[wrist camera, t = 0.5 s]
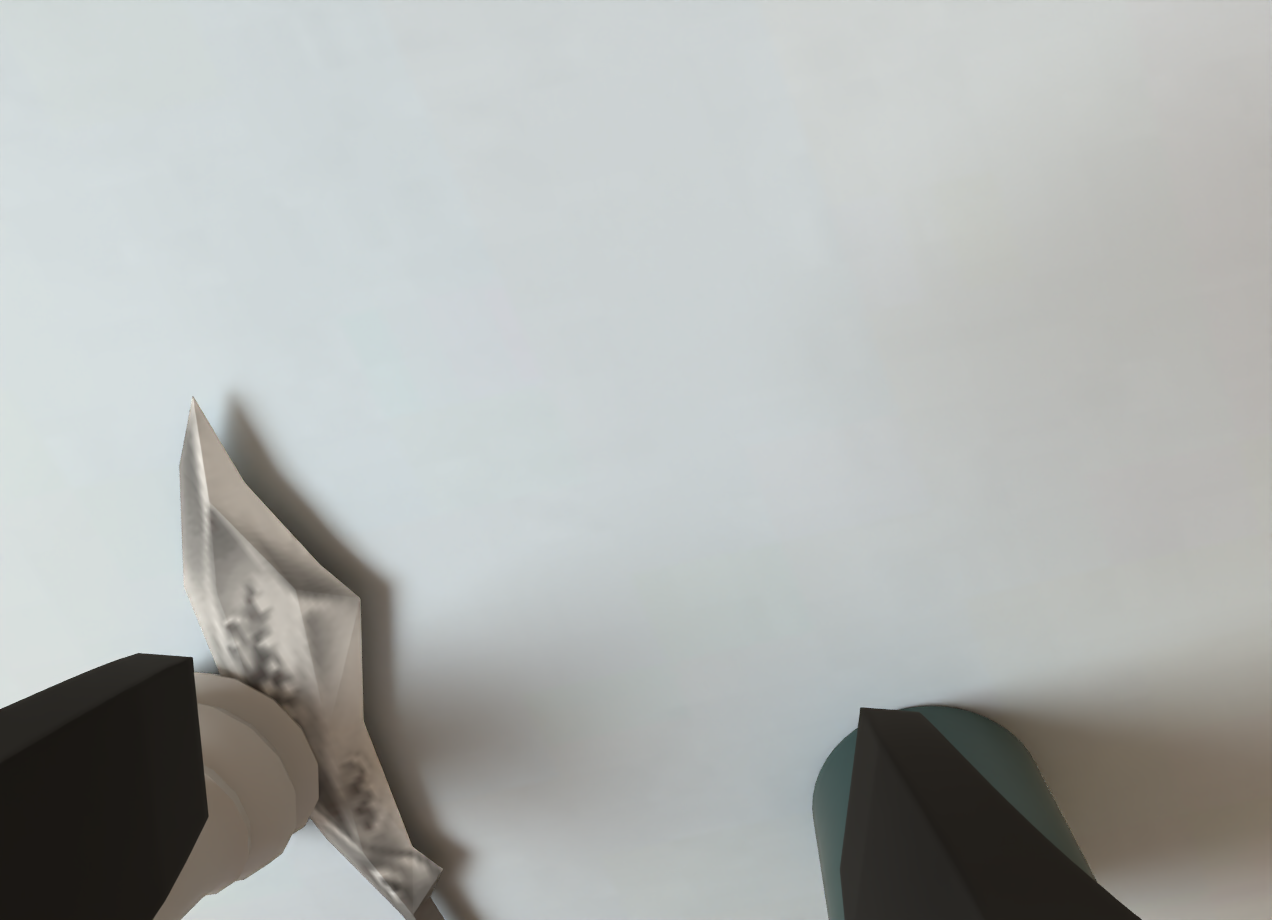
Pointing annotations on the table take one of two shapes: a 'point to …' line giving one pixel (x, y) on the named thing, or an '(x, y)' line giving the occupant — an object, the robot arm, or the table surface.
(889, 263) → the table surface
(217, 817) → the rook chess piece
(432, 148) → the table surface
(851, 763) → the tin can
